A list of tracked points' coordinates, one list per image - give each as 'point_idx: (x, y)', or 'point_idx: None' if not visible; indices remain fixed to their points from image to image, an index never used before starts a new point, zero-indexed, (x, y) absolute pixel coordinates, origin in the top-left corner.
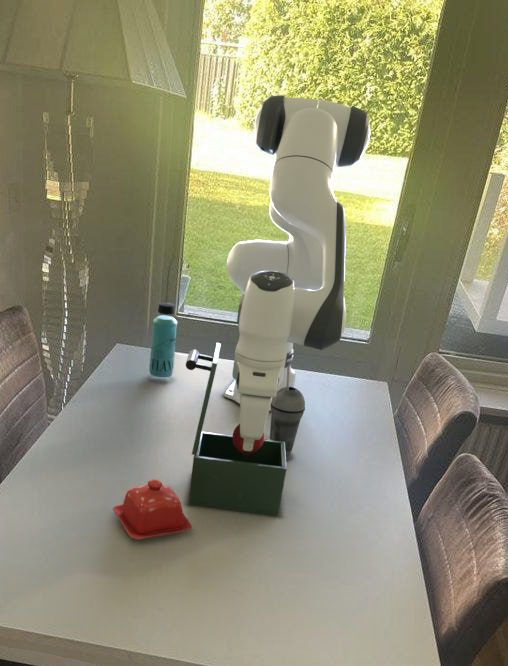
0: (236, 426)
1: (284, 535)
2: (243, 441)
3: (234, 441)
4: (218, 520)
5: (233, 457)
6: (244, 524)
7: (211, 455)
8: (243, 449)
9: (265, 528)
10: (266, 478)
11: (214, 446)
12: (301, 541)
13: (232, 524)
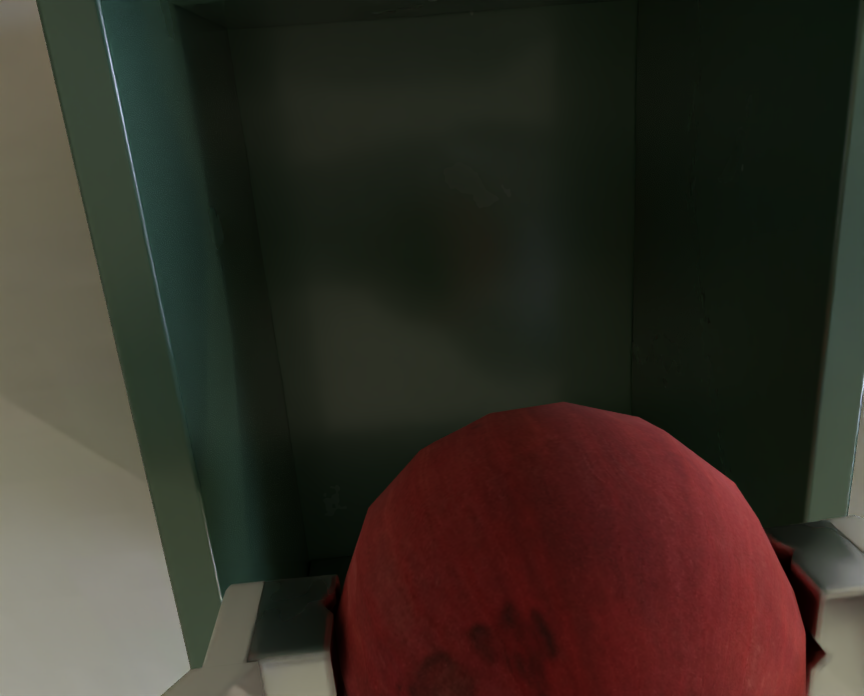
0: (612, 544)
1: (100, 615)
2: (284, 631)
3: (435, 453)
4: (81, 249)
5: (706, 302)
6: (112, 408)
7: (710, 92)
8: (232, 589)
9: (125, 521)
10: None
11: (762, 113)
12: (83, 691)
13: (76, 340)
